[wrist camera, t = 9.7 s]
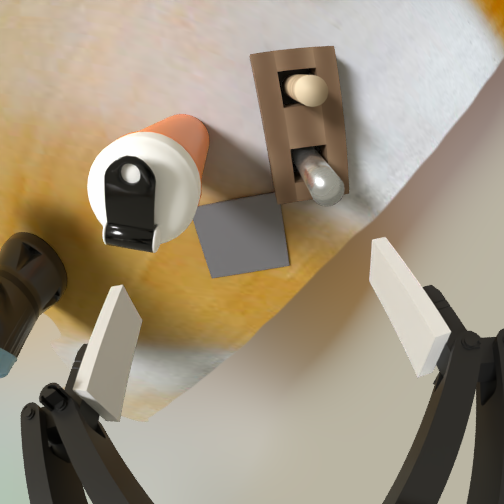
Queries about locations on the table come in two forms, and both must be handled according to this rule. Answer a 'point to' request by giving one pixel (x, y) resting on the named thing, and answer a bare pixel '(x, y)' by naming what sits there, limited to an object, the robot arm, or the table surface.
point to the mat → (242, 235)
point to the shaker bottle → (149, 183)
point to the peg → (318, 176)
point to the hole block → (300, 118)
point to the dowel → (305, 89)
